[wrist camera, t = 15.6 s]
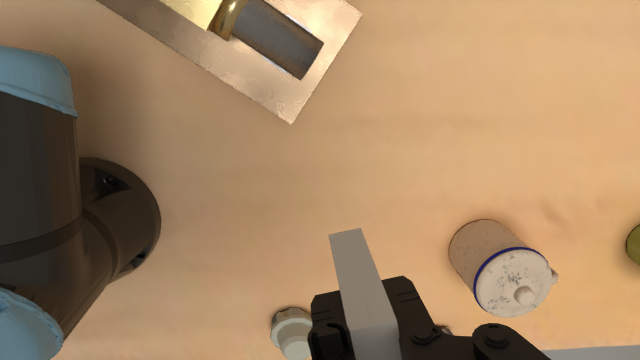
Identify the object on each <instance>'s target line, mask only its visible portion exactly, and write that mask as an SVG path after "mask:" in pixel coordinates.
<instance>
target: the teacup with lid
mask: <svg viewBox="0 0 640 360" xmlns="http://www.w3.org/2000/svg"><path fill="white" fill-rule="evenodd" d="M449 258H450V261H451V264H452V266H453V267H454V269H455V270H456V271H457V273H458V274H459V275H460V277H461V278H462V279H463V281H464V282H465V283H466V285H467V286H468V287H469V289H470V290H471V291H472V293H473V294H474V297H475V299H476V301H477V303H478V304H479V305H480V307H481V308H482V309H484V310H485V311H487V312H488V313H490V314H492V315H495V316H498V317H504V318H512V317H518V316H521V315H524V314H527V313H529V312H530V311H532V310H534V309H535V308H536V307H538V306H539V305H540V304H541V303H542V302H543V300H544V299H545V298H546V296H547V295H548V293H549V290H550V288H551V285H553V284H555V283H556V282H557V280H558V274H557V273H556V272H555V271H554V270H553V269H552V268H550V266H549V264H548V262H547V260H546V259H545V258H544V256H543V255H541V254H540V253H539V252H537V251H535V250H533V249H531V248H530V247H528V246H527V245H526V244H525V243H524V242H522V241H521V240H520V239H519V238H518V237H516V236H515V235H514V234H513V233H512V232H510V231H509V230H508V229H507V228H506V227H504V226H503V225H502V224H500V223H498V222H496V221H492V220H479V221H475V222H472V223H470V224H468V225H466V226H464V227H463V228H462V229H460V230H459V231H458V232H457V234H456V235H455V236H454V238H453V240H452V242H451V244H450V248H449Z"/></svg>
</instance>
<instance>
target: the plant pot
mask: <svg viewBox="0 0 640 360" xmlns="http://www.w3.org/2000/svg"><path fill="white" fill-rule="evenodd" d="M626 251H627V253H628V255H629V256H630V257H631V258H632V259H633V260H634V261H636V262H637V263H638V264H639V265H640V225H639V226H638V227H637V228H635V229H634V230H633V231H632V232H631V234H630V235H629V237H628V239H627V250H626Z"/></svg>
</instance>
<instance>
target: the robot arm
mask: <svg viewBox="0 0 640 360" xmlns="http://www.w3.org/2000/svg"><path fill="white" fill-rule="evenodd" d="M78 117H79V116H78V111H77V110H75V106H74V98H73V90H72V82H71V76H70V73H69V71H68V69H67V68H66V66H65V65H64V64H63V63H62V62H61V61H60V60H59V59H57V58H55V57H54V56H52V55H49V54H46V53H42V52H36V51H31V50H25V49H19V48H14V47H8V46H2V45H0V360H50V359H51V358H53V357H54V356H55V355H56V354H57V353H58V352H59V351H60V349H61V347H62V346H63V345H62V344H63V343H64V341H65V340H66V338H67V337H68V336H69V334H70V333H71V332H72V330H73V329H74V328H75V326H76V325H77V324H78V323H79V321H80V320H81V319H82V317H83V316H84V315H85V313H86V312H87V311H88V310H89V308H90V307H91V306H92V304H93V303H94V302H95V300H96V299H97V298H98V296H99V295H100V294H101V293H102V291H103V290H104V288H105V287H106V286H107V285H108V284H110V283H112V282H114V281H116V280H118V279H120V278H122V277H123V276H125V275H127V274H129V273H131V272H132V271H134V270H135V269H136V268H138V267H139V266H140V265H141V264H142V263H143V262H144V261H145V260H146V258H147V257H148V256H149V254H150V253H151V251H152V250H153V248H154V247H155V245H156V243H157V240H158V238H159V234H160V228H161V218H160V212H159V208H158V205H157V203H156V200H155V198H154V196H153V195H152V193H151V192H150V190H149V189H148V187H147V186H146V185H145V184H144V183H143V182H142V181H141V180H140V179H139V178H138V177H137V176H136V175H134V174H133V173H132V172H130V171H129V170H127V169H125V168H123V167H121V166H119V165H117V164H115V163H112V162H109V161H105V160H101V159H94V158H80V159H79V156H78V143H77V129H76V118H78ZM329 240H330V245H331V250H332V254H333V259H334V264H335V269H336V274H337V279H338V284H339V288H340V290H338V291H333V292H329V293H324V294H319V295H315V297H314V299H313V301H312V303H311V314H312V329H311V330H310V332H309V333H308V337H307V341H308V345H309V349H310V353H311V356H312V360H551V359H550V358H548V357H547V356H546V355H545V354H543V353H542V352H541V351H540V350H538V349H537V348H536V347H535V346H533V345H532V344H531V343H530V342H528V341H527V340H526V339H525V338H523V337H522V336H521V335H520V334H518V333H517V332H516V331H515V330H513V329H511V328H510V327H508V326H505V325H502V324H498V323H488V324H484V325H481V326H479V327H478V328H476V329H475V330H474V332H473V334H472V337H470V336H454V335H450V334H447V333H445V332H443V331H442V329H441V328H440V327H439V326H437V325H435V324H434V323H433V321H432V319H431V317H430V315H429V313H428V311H427V309H426V307H425V306H424V304H423V302H422V300H421V299H420V296H419V294H418V292H417V290H416V288H415V286H414V284H413V283H412V281H410V280H409V279H407V278H406V277H404V276H399V277H394V278H389V279H385V280H381V279H380V276H379V274H378V271H377V269H376V266H375V263H374V261H373V258H372V256H371V253H370V251H369V248H368V246H367V243H366V241H365V238H364V235H363V233H362V230H361V228H358V229H353V230H349V231H344V232H339V233H335V234H330V235H329Z"/></svg>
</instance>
